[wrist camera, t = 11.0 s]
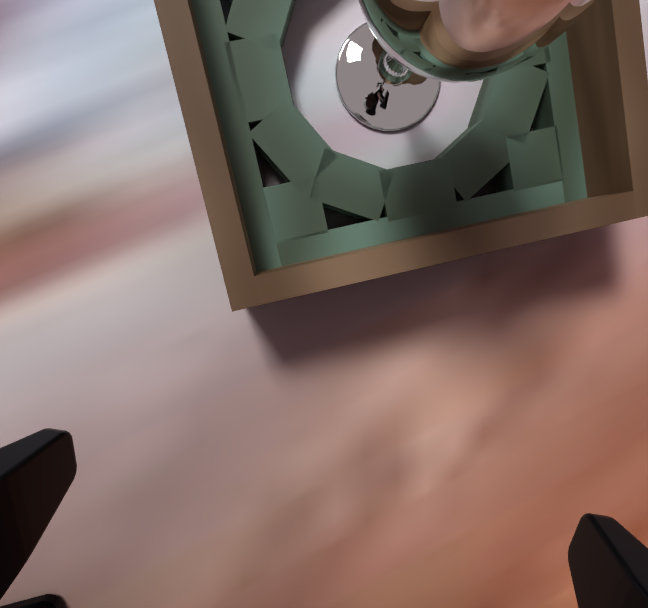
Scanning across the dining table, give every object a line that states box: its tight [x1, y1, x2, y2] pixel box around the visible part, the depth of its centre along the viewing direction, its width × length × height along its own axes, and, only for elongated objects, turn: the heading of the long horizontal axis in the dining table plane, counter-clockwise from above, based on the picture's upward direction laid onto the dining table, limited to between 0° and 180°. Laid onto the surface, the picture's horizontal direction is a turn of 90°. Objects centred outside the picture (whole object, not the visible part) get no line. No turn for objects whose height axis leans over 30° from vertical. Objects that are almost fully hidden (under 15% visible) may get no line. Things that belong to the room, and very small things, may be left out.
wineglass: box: [335, 0, 595, 131], centre depth 13 cm, size 6×6×12 cm
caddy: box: [154, 0, 648, 311], centre depth 17 cm, size 16×16×4 cm
